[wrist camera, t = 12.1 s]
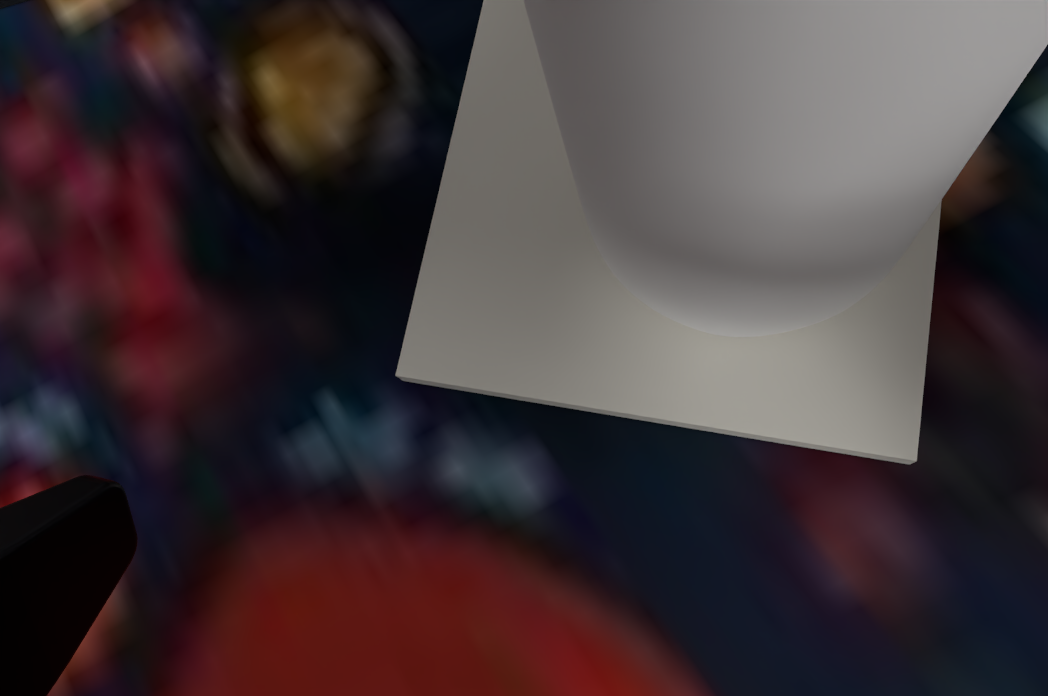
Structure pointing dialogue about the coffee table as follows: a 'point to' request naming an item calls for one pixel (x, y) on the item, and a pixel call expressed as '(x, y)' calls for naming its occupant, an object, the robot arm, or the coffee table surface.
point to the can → (772, 139)
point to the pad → (630, 298)
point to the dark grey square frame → (10, 2)
